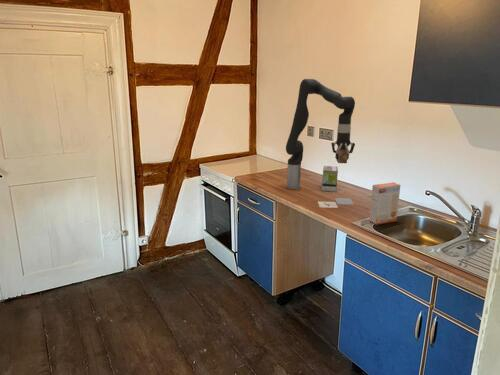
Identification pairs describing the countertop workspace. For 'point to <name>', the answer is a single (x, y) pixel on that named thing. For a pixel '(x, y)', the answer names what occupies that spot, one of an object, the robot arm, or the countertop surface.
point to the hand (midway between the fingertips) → (341, 159)
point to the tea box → (329, 178)
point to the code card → (328, 204)
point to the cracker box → (384, 203)
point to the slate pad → (343, 201)
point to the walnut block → (342, 156)
